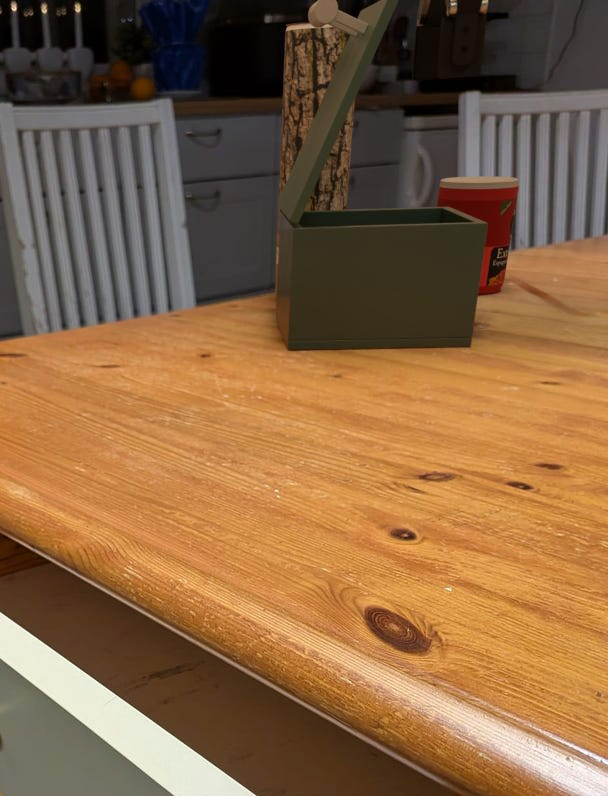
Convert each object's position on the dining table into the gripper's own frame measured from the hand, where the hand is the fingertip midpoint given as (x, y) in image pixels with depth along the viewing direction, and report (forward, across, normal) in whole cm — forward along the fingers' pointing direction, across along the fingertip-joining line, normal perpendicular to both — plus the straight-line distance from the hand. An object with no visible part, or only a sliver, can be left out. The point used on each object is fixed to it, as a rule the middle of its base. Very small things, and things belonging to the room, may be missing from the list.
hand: (443, 78), depth 78 cm
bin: (+20, 0, +5) cm, 21 cm away
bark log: (+20, +14, +9) cm, 26 cm away
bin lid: (+2, 0, +9) cm, 9 cm away
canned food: (+20, +21, -9) cm, 31 cm away
